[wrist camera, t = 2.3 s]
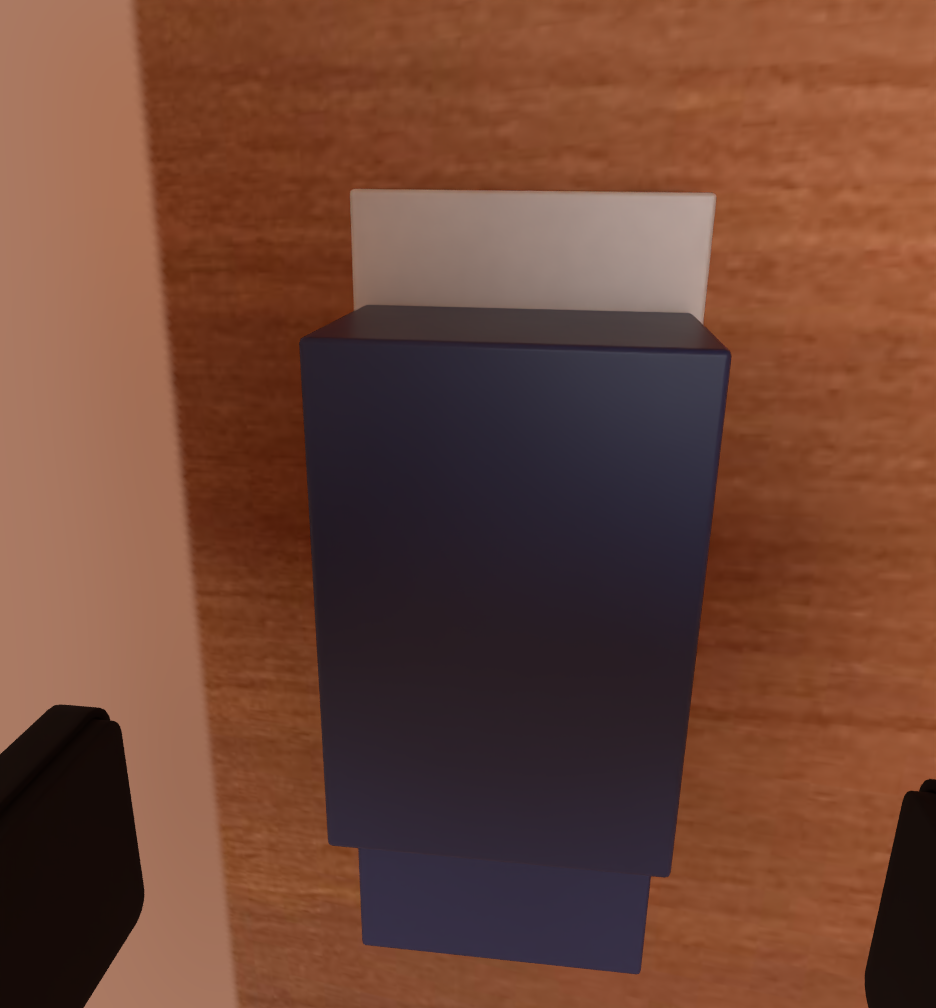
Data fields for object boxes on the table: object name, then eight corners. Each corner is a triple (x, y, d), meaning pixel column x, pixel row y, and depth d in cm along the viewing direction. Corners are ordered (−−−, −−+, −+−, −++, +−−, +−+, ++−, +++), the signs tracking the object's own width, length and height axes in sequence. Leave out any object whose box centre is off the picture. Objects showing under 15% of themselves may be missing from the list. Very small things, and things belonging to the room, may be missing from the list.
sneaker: (367, 189, 16) (273, 185, 11) (705, 192, 16) (768, 190, 11) (386, 847, 22) (328, 1048, 17) (636, 872, 21) (656, 1088, 16)
